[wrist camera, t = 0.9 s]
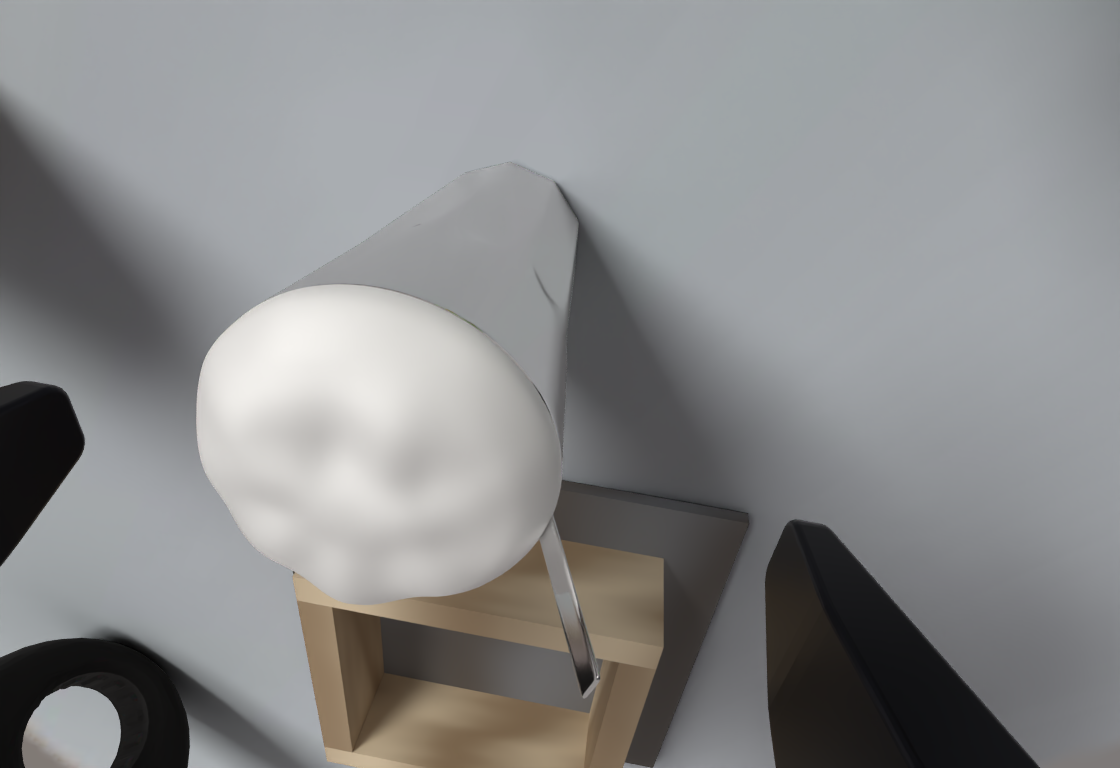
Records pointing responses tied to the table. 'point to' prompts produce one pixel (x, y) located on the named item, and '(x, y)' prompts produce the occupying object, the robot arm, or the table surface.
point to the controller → (116, 672)
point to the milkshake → (409, 403)
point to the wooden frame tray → (529, 647)
